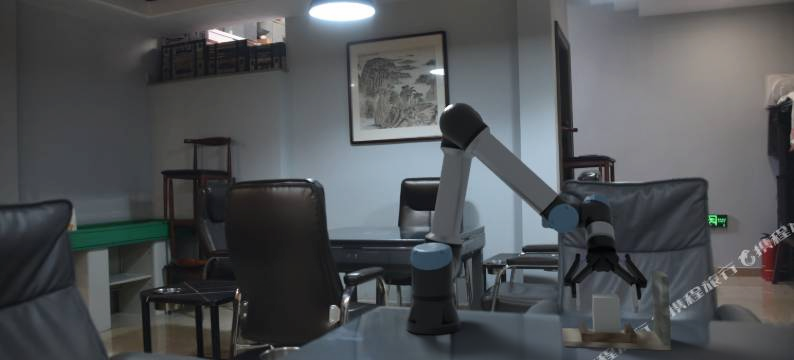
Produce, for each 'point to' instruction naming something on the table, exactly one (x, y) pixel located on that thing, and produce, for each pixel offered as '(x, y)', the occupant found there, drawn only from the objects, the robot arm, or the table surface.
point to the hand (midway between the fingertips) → (607, 308)
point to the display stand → (628, 336)
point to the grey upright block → (606, 313)
